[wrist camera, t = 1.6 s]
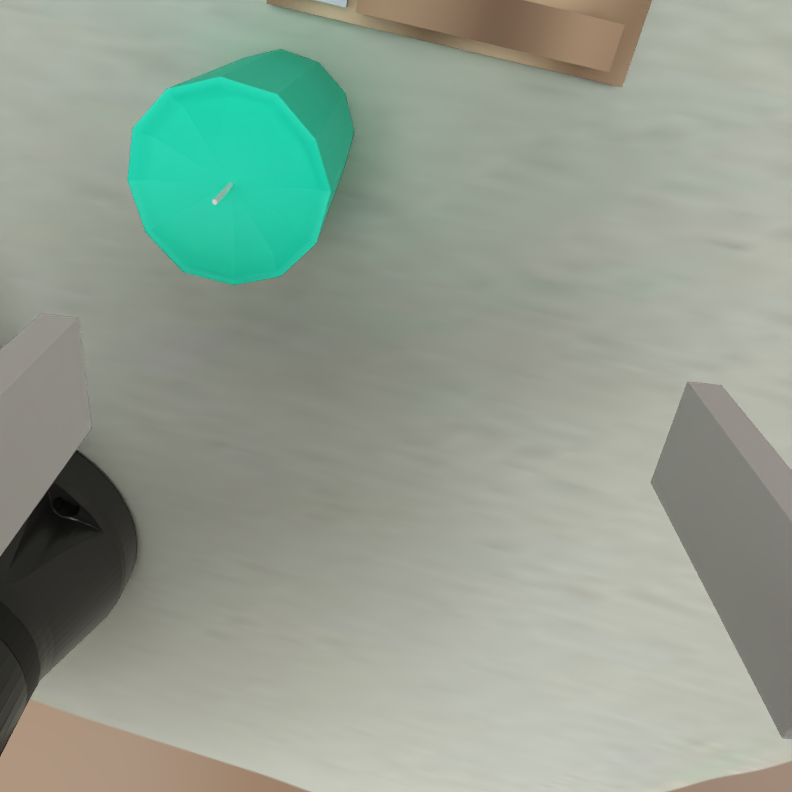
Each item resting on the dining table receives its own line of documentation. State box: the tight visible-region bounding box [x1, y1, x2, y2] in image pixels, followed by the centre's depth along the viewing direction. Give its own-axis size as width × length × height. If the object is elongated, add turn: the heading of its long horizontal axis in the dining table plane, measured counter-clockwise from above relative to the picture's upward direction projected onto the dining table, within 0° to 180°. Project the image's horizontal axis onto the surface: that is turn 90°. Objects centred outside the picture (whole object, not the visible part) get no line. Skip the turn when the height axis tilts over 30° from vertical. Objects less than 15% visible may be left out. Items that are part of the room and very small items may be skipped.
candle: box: [128, 49, 354, 285], centre depth 24 cm, size 6×6×12 cm
